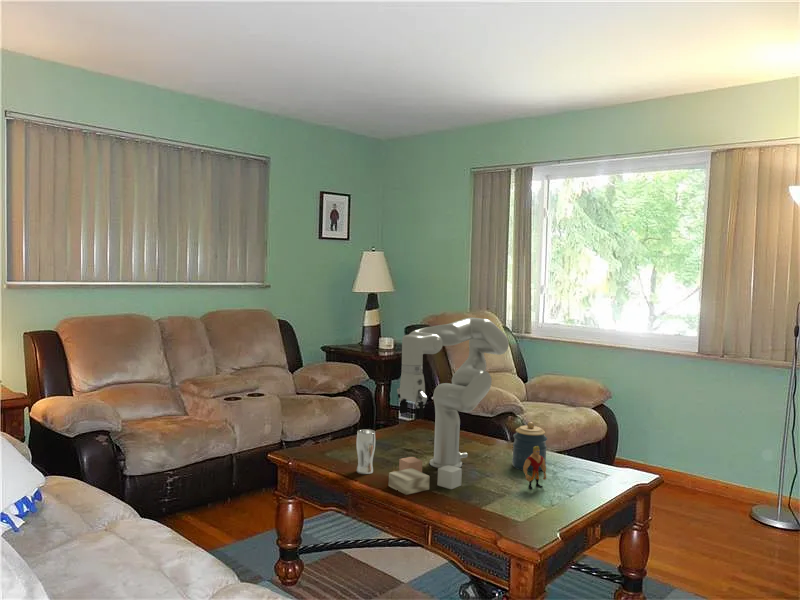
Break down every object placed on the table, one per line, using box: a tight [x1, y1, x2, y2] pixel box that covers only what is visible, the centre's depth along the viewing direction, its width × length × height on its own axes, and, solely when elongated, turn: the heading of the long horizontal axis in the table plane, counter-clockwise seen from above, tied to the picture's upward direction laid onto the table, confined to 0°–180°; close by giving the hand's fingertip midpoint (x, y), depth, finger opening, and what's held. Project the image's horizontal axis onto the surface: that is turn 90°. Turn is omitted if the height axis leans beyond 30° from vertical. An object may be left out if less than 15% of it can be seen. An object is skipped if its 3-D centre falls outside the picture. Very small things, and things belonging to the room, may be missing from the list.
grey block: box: [437, 465, 463, 490], centre depth 224 cm, size 6×6×6 cm
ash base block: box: [388, 468, 431, 496], centre depth 220 cm, size 10×10×5 cm
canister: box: [511, 421, 548, 472], centre depth 248 cm, size 13×13×18 cm
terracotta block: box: [398, 456, 423, 473], centre depth 233 cm, size 6×6×6 cm
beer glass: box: [356, 428, 376, 475], centre depth 235 cm, size 7×7×15 cm
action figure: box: [522, 446, 547, 490], centre depth 224 cm, size 10×4×15 cm, turn 114°
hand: (411, 415), depth 232 cm, fingers open, 9 cm apart
